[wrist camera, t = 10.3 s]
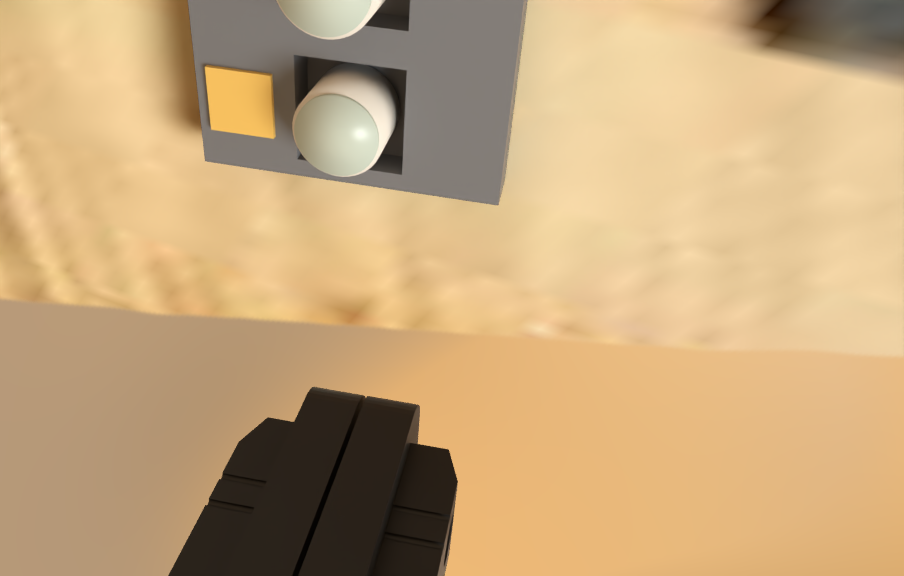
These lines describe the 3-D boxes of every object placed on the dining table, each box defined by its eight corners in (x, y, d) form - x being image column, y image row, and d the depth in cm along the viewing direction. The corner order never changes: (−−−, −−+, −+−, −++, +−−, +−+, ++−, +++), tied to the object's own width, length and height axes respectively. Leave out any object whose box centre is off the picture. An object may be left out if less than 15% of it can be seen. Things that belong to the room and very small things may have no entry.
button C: (401, 69, 44) (383, 98, 40) (398, 151, 47) (380, 185, 43) (314, 57, 44) (288, 85, 41) (315, 139, 47) (291, 172, 44)
